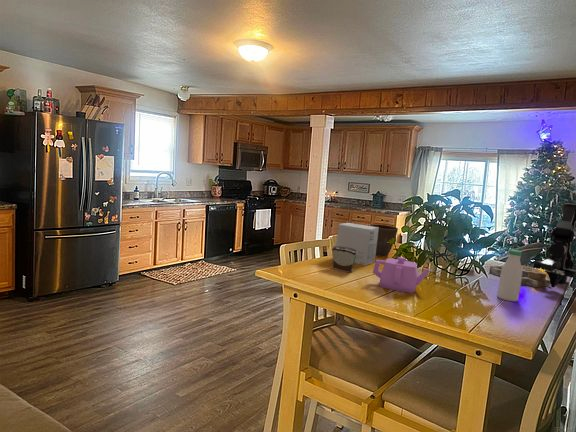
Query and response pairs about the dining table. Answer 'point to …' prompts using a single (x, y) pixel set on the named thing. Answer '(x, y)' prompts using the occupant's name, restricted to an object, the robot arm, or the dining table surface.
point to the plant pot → (385, 239)
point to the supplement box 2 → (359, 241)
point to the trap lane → (525, 277)
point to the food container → (344, 258)
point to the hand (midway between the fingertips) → (552, 287)
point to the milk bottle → (510, 277)
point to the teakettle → (399, 274)
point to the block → (538, 277)
